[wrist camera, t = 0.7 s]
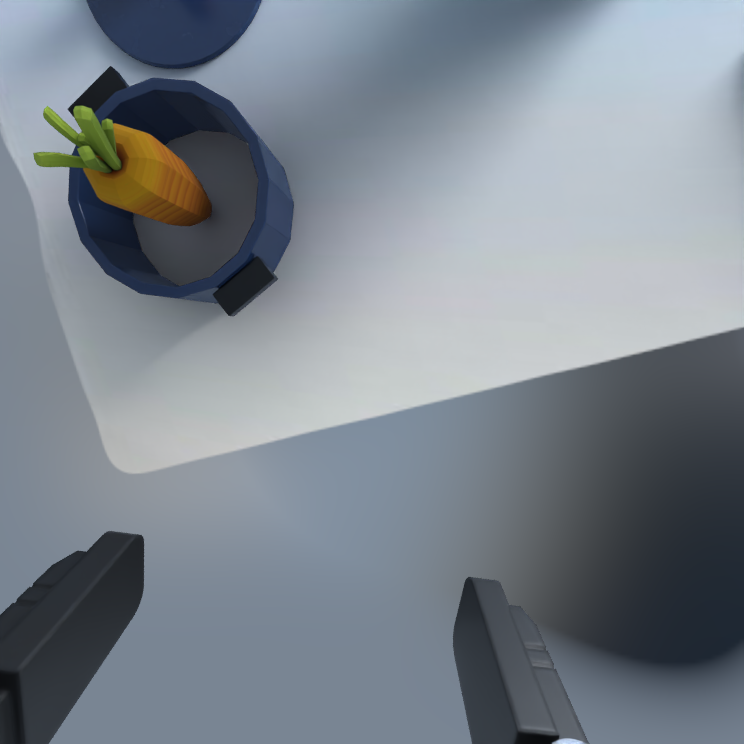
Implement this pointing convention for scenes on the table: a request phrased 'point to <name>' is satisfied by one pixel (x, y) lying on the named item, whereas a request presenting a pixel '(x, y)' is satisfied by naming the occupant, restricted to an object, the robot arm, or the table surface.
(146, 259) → the pot
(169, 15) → the lid
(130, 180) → the carrot
